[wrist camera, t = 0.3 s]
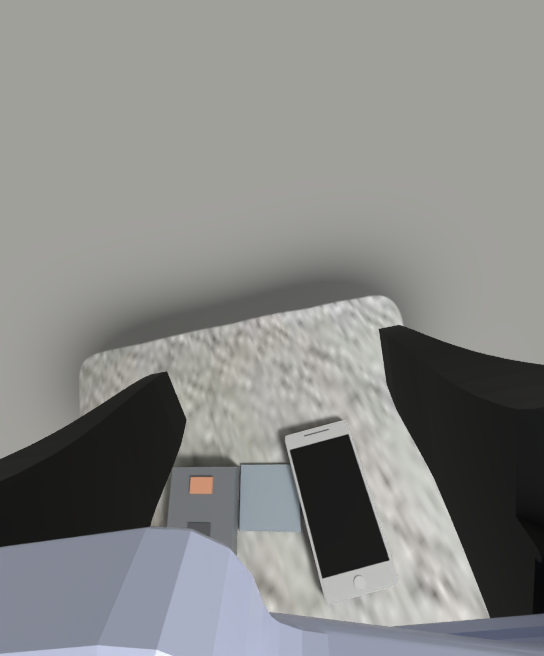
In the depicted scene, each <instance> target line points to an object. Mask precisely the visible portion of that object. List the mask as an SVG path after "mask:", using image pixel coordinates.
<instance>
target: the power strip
mask: <svg viewBox="0 0 544 656" xmlns="http://www.w3.org/2000/svg"><path fill="white" fill-rule="evenodd" d="M238 487H239V467H172V477H171V487H170V498H169V508H168V519H167V527H170V528H187V529H193V530H195V531H198V532H200V533H202V534H204V535H206V536H209V537H211V538H213V539H215V540H217V541H220V542H222V543H224V544H226V545H227V546H228V547H229V548H230V549H231V550H232V551H233V553H234V554H235V555H236V556H237V523H238Z"/></svg>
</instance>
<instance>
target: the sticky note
mask: <svg viewBox="0 0 544 656" xmlns="http://www.w3.org/2000/svg"><path fill="white" fill-rule="evenodd" d="M239 531H279V532H301V519H300V499H299V495H298V491H297V487H296V483H295V479H294V475H293V471H292V467H291V464H286V465H241V488H240V527H239Z"/></svg>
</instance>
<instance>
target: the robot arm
mask: <svg viewBox="0 0 544 656" xmlns="http://www.w3.org/2000/svg"><path fill="white" fill-rule="evenodd" d="M379 333H380V340H381V347H382V354H383V361H384V368H385V376H386V383H387V386H388V389H389V392H390V394H391V397H392V400H393V402H394V405H395V407H396V410H397V411H398V413H399V415H400V417H401V419H402V421H403V422H404V424H405V426H406V428H407V430H408V431H409V433H410V435H411V437H412V439H413V440H414V442H415V444H416V446H417V448H418V449H419V451H420V453H421V455H422V457H423V458H424V460H425V462H426V464H427V465H428V467H429V469H430V471H431V473H432V475H433V477H434V479H435V482H436V484H437V486H438V489H439V491H440V493H441V496H442V498H443V500H444V503H445V505H446V507H447V510H448V512H449V515H450V517H451V519H452V522H453V524H454V527H455V529H456V532H457V534H458V537H459V539H460V541H461V544H462V546H463V549H464V551H465V554H466V556H467V559H468V561H469V564H470V567H471V569H472V572H473V574H474V577H475V579H476V582H477V584H478V587H479V589H480V592H481V595H482V597H483V600H484V602H485V605H486V608H487V610H488V613H489V616H490V618H488V619H476V620H464V621H453V622H441V623H429V624H417V625H405V626H393V627H387V626H379V625H371V624H363V623H355V622H347V621H338V620H330V619H322V618H314V617H306V616H298V615H290V614H282V613H272V612H268V610H267V609H266V607H265V605H264V603H263V601H262V598H261V596H260V593H259V591H258V588H257V586H256V583H255V581H254V578H253V576H252V574H251V573H250V572H249V571H248V569H247V568H246V567H245V566H244V565H243V563H242V562H241V561H240V560H239V559H238V557H237V556H236V555H235V554H234V553H233V551H232V550H231V549H230V548H229V547H228V546H227V545H226V544H224V543H222V542H220V541H217V540H215V539H213V538H211V537H209V536H206V535H204V534H202V533H200V532H198V531H195V530H193V529H187V528H170V527H154V526H152V527H150V525H151V521H152V518H153V515H154V512H155V509H156V507H157V504H158V502H159V499H160V497H161V494H162V492H163V489H164V487H165V484H166V482H167V479H168V477H169V474H170V472H171V469H172V467H173V464H174V462H175V459H176V456H177V454H178V451H179V449H180V446H181V442H182V438H183V434H184V429H185V424H186V417H185V415H184V412H183V410H182V407H181V405H180V403H179V400H178V398H177V395H176V393H175V390H174V388H173V385H172V383H171V380H170V378H169V375H168V373H167V371H166V372H161V373H156V374H151V375H149V376H146V377H144V378H142V379H140V380H139V381H137V382H135V383H134V384H132V385H130V386H129V387H127V388H126V389H124V390H123V391H121V392H119V393H118V394H116V395H115V396H113V397H112V398H110V399H109V400H107V401H106V402H104V403H103V404H101V405H100V406H98V407H96V408H95V409H93V410H92V411H90V412H88V413H87V414H85V415H84V416H82V417H80V418H79V419H77V420H76V421H74V422H72V423H71V424H69V425H67V426H65V427H64V428H62V429H60V430H58V431H57V432H55V433H53V434H51V435H49V436H48V437H45V438H44V439H42V440H40V441H38V442H36V443H34V444H32V445H30V446H28V447H26V448H24V449H21V450H19V451H17V452H15V453H13V454H11V455H8V456H6V457H4V458H2V459H0V656H544V365H541V364H534V363H526V362H520V361H515V360H509V359H504V358H500V357H495V356H490V355H486V354H482V353H478V352H475V351H471V350H468V349H465V348H461V347H458V346H455V345H452V344H449V343H446V342H443V341H440V340H438V339H435V338H432V337H430V336H427V335H424V334H422V333H420V332H417V331H415V330H412V329H409V328H407V327H404V326H401V325H397V326H392V327H387V328H382V329H379Z"/></svg>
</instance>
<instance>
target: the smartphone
mask: <svg viewBox="0 0 544 656" xmlns="http://www.w3.org/2000/svg"><path fill="white" fill-rule="evenodd" d="M285 444H286V447H287V451H288V455H289V459H290V463H291V467H292V471H293V475H294V479H295V483H296V487H297V491H298V495H299V499H300V503H301V507H302V511H303V515H304V519H305V523H306V527H307V531H308V535H309V539H310V543H311V547H312V551H313V555H314V559H315V563H316V567H317V571H318V575H319V579H320V583H321V587H322V591H323V595H324V598H325V600H326V602H327V603H328V604H332V603H336V602H339V601H343V600H347V599H350V598H354V597H358V596H361V595H365V594H369V593H372V592H376V591H380V590H383V589H387V588H390V587H394V586H397V585H398V583H399V579H398V575H397V572H396V569H395V566H394V563H393V560H392V557H391V554H390V551H389V548H388V545H387V542H386V539H385V536H384V533H383V530H382V527H381V524H380V521H379V518H378V515H377V512H376V509H375V506H374V503H373V499H372V496H371V493H370V490H369V487H368V484H367V481H366V478H365V475H364V472H363V469H362V466H361V463H360V460H359V457H358V454H357V451H356V448H355V445H354V442H353V439H352V436H351V433H350V430H349V427H348V424H347V422H346V421H345V420H341V421H338V422H334V423H330V424H327V425H323V426H319V427H316V428H312V429H308V430H304V431H301V432H297V433H293V434H290V435H286V436H285Z"/></svg>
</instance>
